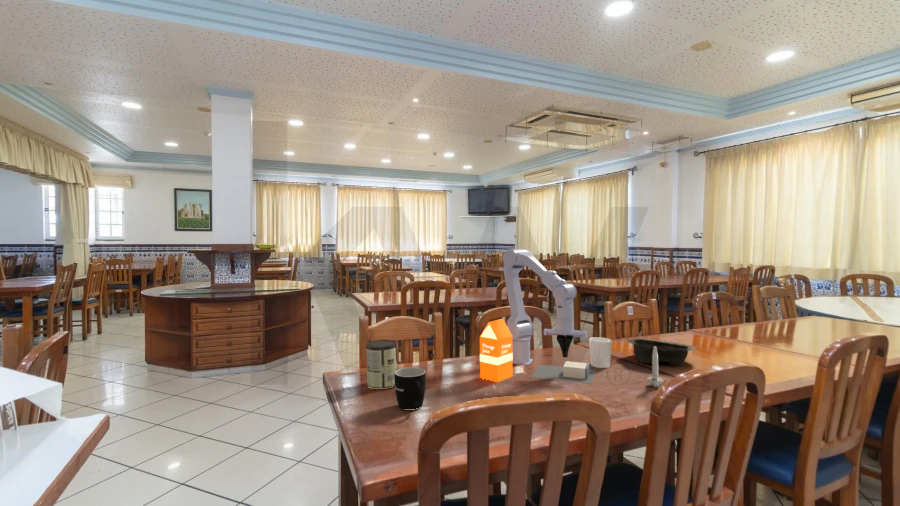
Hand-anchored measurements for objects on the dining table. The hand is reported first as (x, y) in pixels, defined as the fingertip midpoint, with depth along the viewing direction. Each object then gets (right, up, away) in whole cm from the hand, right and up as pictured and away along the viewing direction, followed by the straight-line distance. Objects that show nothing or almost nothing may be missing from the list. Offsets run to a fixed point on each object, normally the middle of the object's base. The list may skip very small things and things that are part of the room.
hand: (565, 356), depth 152 cm
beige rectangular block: (0, -4, 0) cm, 4 cm away
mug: (-51, -8, -29) cm, 59 cm away
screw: (+25, -7, -13) cm, 29 cm away
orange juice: (-24, -7, -2) cm, 25 cm away
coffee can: (-63, -8, -8) cm, 64 cm away
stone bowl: (+41, -6, +16) cm, 45 cm away
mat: (0, -6, 0) cm, 6 cm away
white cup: (+16, -6, +10) cm, 19 cm away
